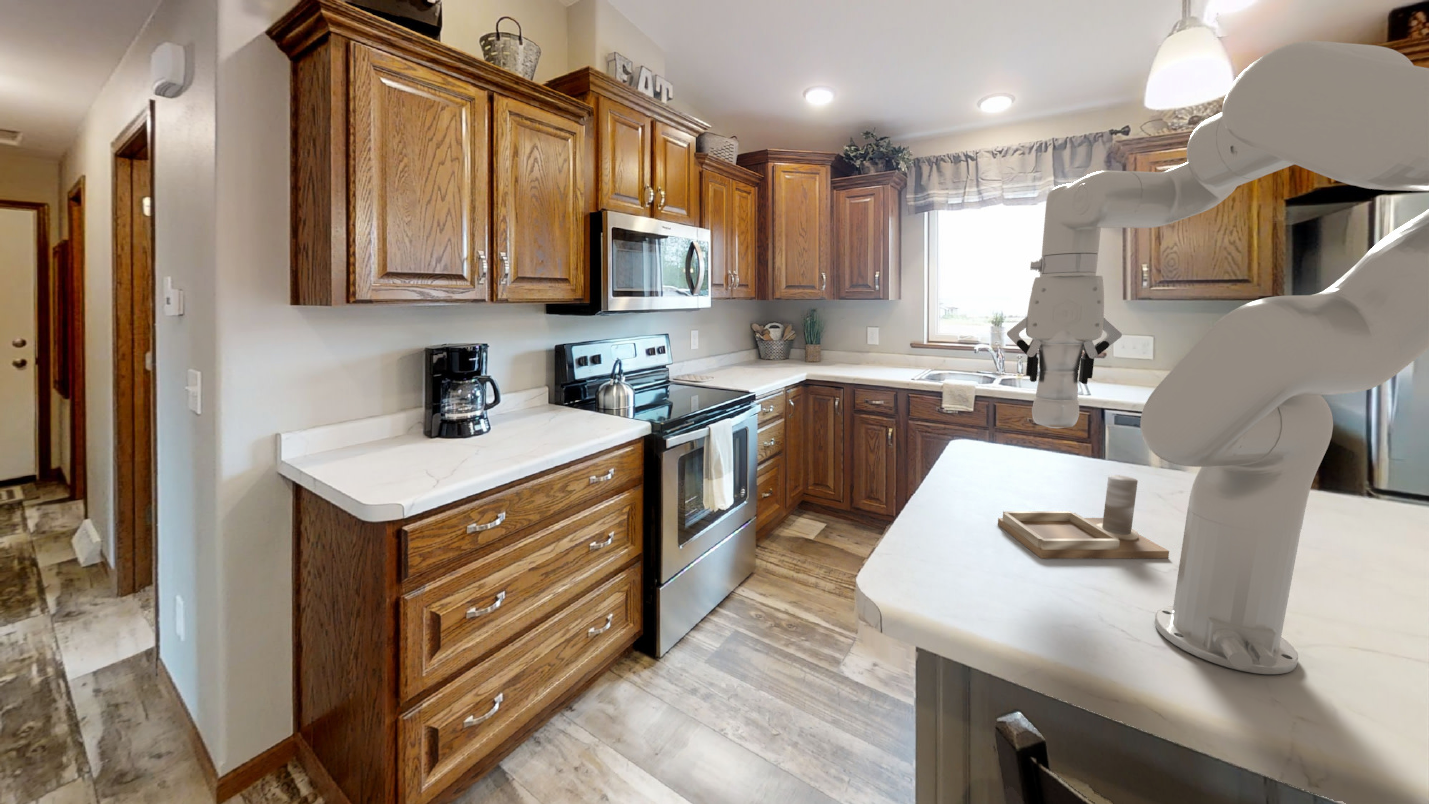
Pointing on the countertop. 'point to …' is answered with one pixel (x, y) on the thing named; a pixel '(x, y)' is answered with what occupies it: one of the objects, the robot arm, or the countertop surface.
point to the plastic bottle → (1058, 381)
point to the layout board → (1085, 529)
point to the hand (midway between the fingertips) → (1057, 380)
